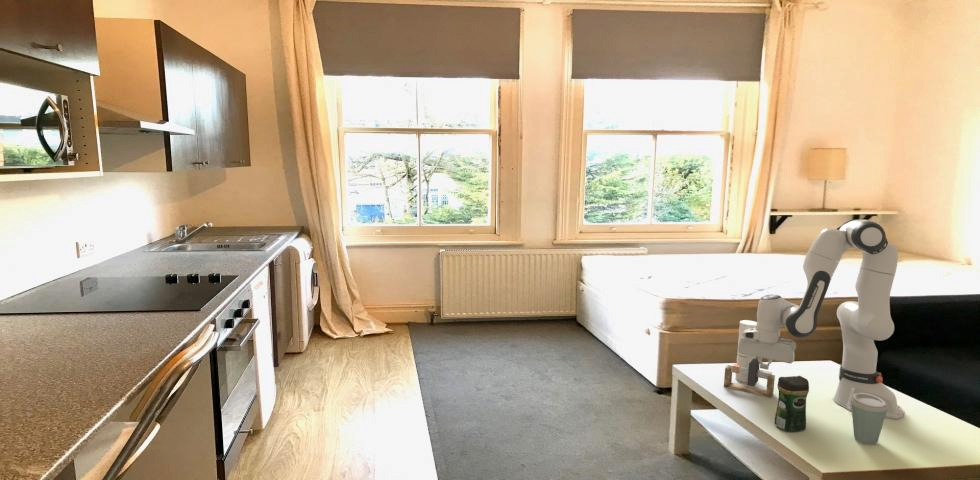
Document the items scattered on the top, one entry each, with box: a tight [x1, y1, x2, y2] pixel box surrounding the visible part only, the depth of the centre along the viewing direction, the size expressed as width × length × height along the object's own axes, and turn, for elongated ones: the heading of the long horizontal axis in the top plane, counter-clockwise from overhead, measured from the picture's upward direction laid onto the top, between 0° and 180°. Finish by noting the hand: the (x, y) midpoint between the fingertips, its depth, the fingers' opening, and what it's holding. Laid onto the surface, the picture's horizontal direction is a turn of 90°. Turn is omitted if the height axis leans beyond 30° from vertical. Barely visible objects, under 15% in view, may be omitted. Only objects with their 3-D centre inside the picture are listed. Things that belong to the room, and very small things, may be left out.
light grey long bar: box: [728, 363, 773, 380], centre depth 231 cm, size 16×3×3 cm, turn 54°
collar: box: [746, 358, 760, 388], centre depth 230 cm, size 2×8×9 cm, turn 144°
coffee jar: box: [774, 375, 810, 433], centre depth 199 cm, size 10×8×19 cm
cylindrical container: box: [735, 319, 757, 383], centre depth 242 cm, size 7×7×25 cm
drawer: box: [723, 364, 776, 398], centre depth 231 cm, size 18×4×8 cm, turn 54°
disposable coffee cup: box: [850, 393, 888, 446], centre depth 190 cm, size 11×11×15 cm
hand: (764, 368), depth 227 cm, fingers closed
